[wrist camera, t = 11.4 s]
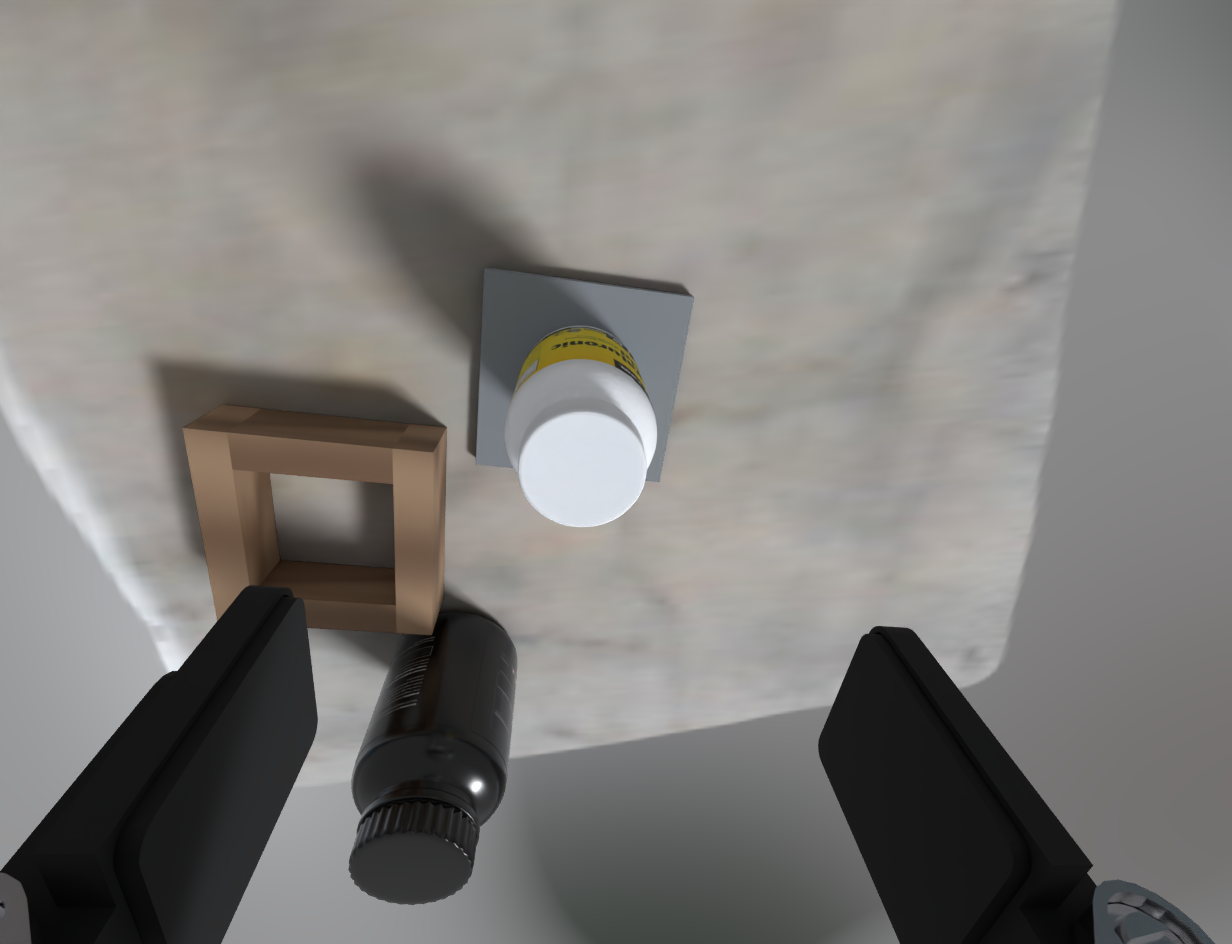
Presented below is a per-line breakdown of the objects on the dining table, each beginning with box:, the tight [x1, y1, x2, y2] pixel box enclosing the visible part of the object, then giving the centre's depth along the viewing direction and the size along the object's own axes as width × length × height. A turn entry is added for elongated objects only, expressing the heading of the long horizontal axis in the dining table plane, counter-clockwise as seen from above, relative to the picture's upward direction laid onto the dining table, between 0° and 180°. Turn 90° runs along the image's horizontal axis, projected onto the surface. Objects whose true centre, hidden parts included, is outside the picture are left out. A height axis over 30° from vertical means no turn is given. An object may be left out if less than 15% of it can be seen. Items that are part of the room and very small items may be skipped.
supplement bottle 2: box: [505, 326, 657, 527], centre depth 22 cm, size 5×5×10 cm
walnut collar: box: [183, 405, 447, 635], centre depth 28 cm, size 10×10×3 cm
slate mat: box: [476, 267, 694, 482], centre depth 27 cm, size 9×9×1 cm
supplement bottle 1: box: [349, 612, 517, 905], centre depth 28 cm, size 7×7×12 cm
